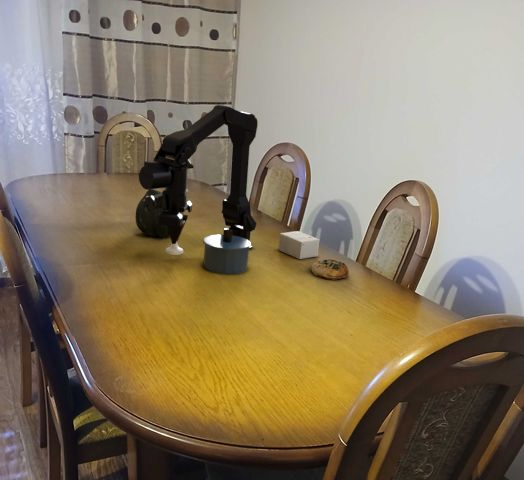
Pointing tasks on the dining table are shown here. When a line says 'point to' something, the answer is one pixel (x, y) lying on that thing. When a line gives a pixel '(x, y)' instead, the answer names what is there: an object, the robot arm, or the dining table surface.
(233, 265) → the pot
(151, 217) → the squash
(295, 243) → the small box
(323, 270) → the bread roll
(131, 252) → the dining table surface
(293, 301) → the dining table surface
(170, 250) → the chess piece
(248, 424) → the dining table surface
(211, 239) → the pot lid
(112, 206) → the dining table surface
